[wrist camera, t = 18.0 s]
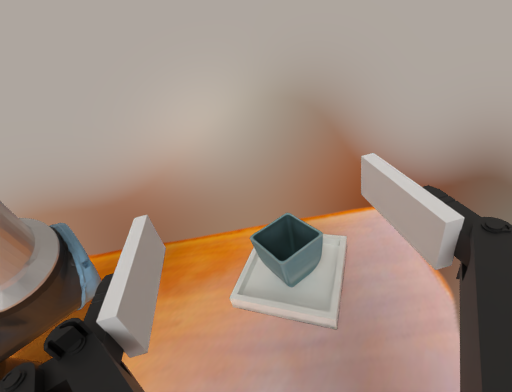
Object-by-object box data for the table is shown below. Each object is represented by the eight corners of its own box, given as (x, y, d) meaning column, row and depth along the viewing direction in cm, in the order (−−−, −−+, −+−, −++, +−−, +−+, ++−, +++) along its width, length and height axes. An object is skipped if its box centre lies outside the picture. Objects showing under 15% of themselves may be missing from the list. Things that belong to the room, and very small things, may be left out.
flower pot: (258, 272, 50) (248, 236, 45) (294, 246, 53) (287, 211, 48) (290, 302, 43) (281, 265, 38) (328, 271, 46) (324, 233, 42)
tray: (233, 306, 46) (229, 298, 44) (264, 237, 58) (262, 229, 57) (336, 329, 39) (336, 319, 37) (346, 245, 51) (346, 236, 50)
